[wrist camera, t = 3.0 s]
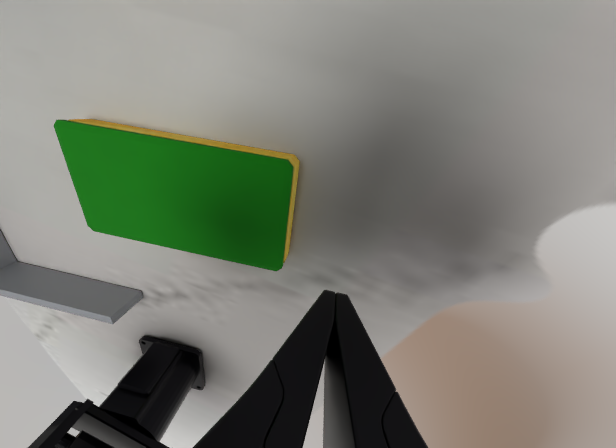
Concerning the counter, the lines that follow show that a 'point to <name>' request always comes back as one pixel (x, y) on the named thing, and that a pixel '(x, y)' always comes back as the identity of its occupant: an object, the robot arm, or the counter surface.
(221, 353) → the counter surface
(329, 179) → the counter surface
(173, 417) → the robot arm
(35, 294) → the frame
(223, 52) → the counter surface
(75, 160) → the dish sponge
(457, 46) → the counter surface
